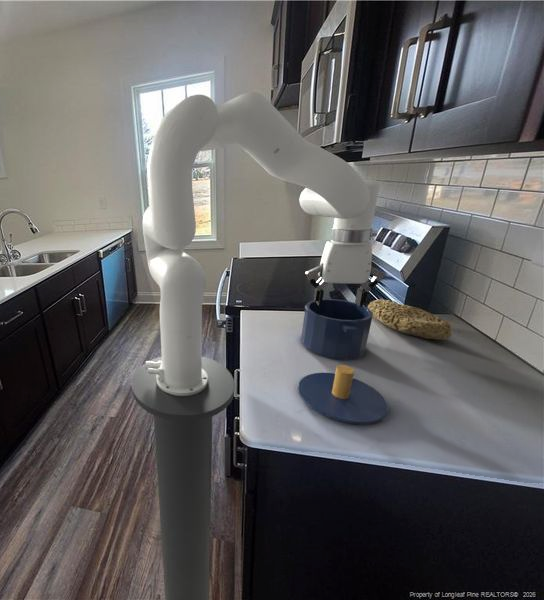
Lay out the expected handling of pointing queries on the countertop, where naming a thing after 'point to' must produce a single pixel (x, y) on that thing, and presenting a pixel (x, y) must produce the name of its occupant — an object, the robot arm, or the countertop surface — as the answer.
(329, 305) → the pot
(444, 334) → the sponge
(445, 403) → the countertop surface
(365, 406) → the lid
